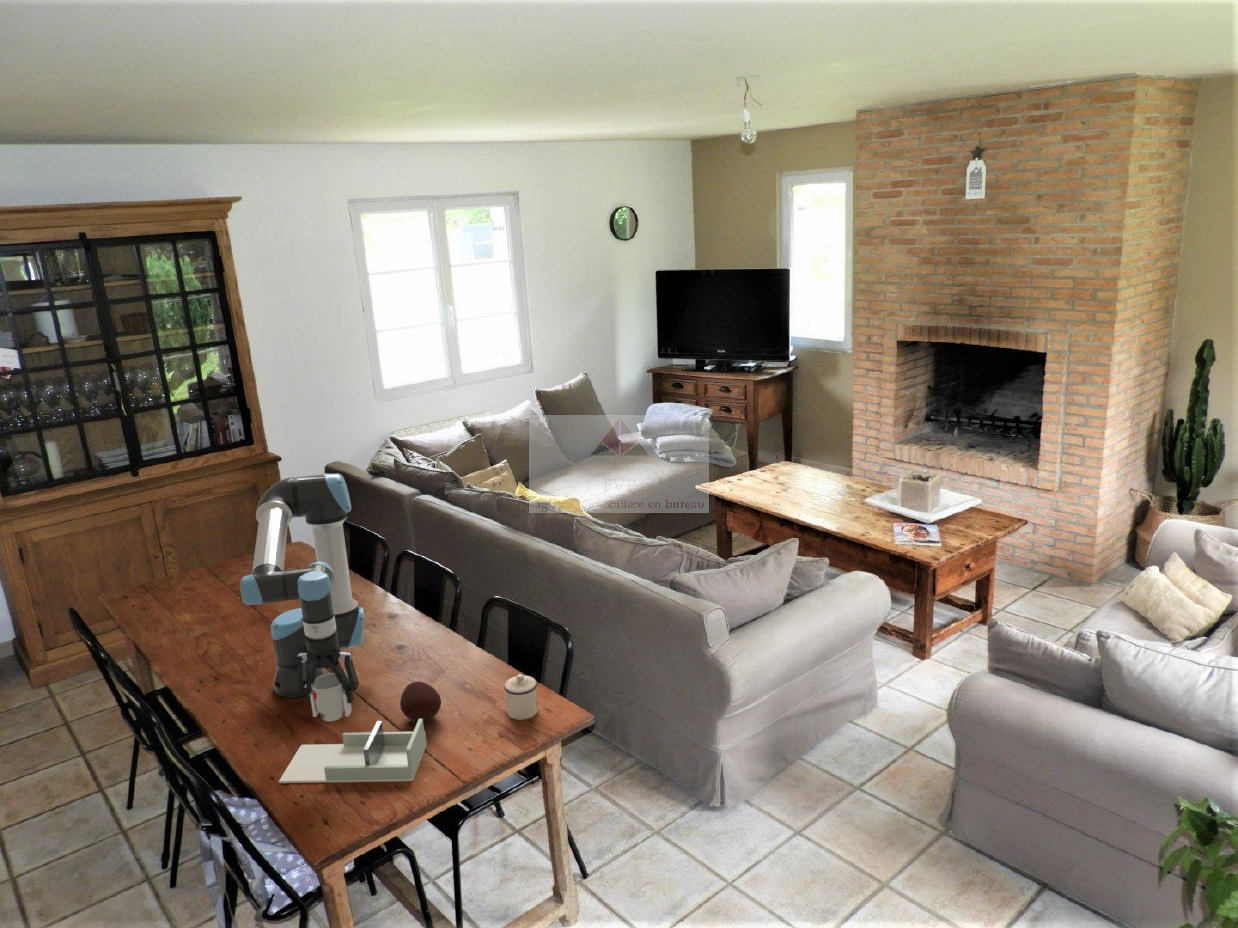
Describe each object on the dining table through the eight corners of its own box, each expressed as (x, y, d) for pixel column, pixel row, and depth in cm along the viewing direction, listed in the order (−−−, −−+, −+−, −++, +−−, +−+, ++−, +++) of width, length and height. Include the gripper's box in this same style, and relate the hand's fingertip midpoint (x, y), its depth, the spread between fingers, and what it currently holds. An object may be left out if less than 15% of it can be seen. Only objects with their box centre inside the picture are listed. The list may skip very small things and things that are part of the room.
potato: (407, 736, 245) (403, 703, 242) (398, 712, 257) (394, 680, 254) (447, 726, 249) (444, 693, 246) (436, 703, 261) (433, 671, 258)
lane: (279, 783, 227) (274, 753, 225) (301, 746, 242) (297, 718, 240) (412, 781, 226) (409, 751, 224) (426, 744, 241) (423, 716, 239)
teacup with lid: (545, 712, 254) (542, 675, 251) (518, 724, 249) (515, 687, 245) (521, 695, 263) (518, 660, 260) (494, 707, 258) (491, 671, 254)
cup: (320, 708, 234) (315, 674, 231) (352, 706, 234) (347, 672, 232) (312, 726, 226) (307, 690, 223) (345, 723, 227) (340, 688, 224)
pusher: (366, 775, 228) (363, 749, 226) (380, 745, 240) (377, 721, 238) (371, 775, 228) (367, 749, 226) (384, 745, 240) (381, 721, 238)
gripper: (274, 641, 220) (287, 722, 227) (357, 639, 220) (367, 721, 226) (286, 627, 227) (298, 706, 234) (366, 625, 227) (376, 705, 233)
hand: (332, 713), depth 230 cm, fingers closed on cup, 8 cm apart
